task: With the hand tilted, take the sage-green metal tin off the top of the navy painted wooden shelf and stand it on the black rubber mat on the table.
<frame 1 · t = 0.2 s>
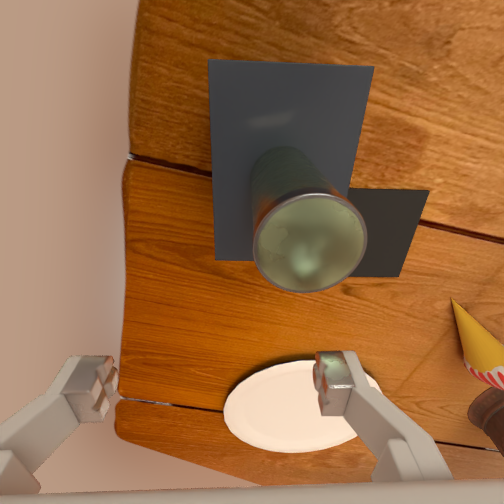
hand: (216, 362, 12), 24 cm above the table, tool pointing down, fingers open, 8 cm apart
plate: (301, 404, 54), on the table
mat: (364, 235, 36), on the table
ice cream cone: (471, 332, 45), on the table
tin: (282, 179, 20), point 11 cm above the table, touching shelf
shelf: (269, 148, 30), on the table
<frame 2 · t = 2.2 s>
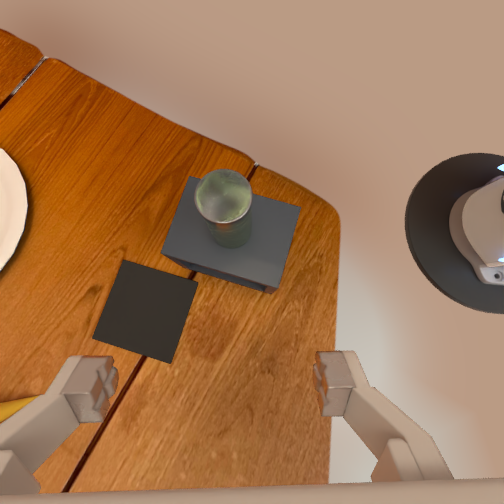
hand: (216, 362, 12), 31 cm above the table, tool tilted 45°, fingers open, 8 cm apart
mat: (146, 309, 42), on the table
tin: (231, 229, 33), point 11 cm above the table, touching shelf
shelf: (236, 249, 44), on the table
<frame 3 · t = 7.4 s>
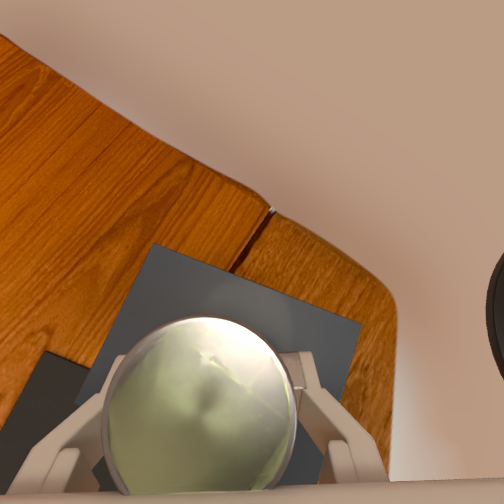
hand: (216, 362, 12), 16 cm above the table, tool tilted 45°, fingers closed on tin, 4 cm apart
mat: (71, 444, 25), on the table
tin: (224, 361, 17), point 11 cm above the table, touching gripper, shelf
shelf: (231, 347, 27), on the table
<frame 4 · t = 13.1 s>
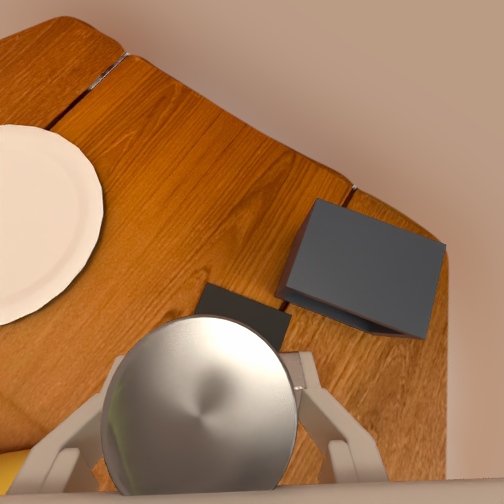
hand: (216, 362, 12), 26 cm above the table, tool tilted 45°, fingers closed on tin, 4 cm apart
plate: (2, 222, 40), on the table
mat: (232, 342, 37), on the table
ice cream cone: (24, 470, 33), on the table
tin: (225, 361, 17), point 21 cm above the table, touching gripper
shelf: (334, 280, 39), on the table
when the fingers open (6 cm above the table, at t = 18.8 s): tin stays where it is, resting on mat.
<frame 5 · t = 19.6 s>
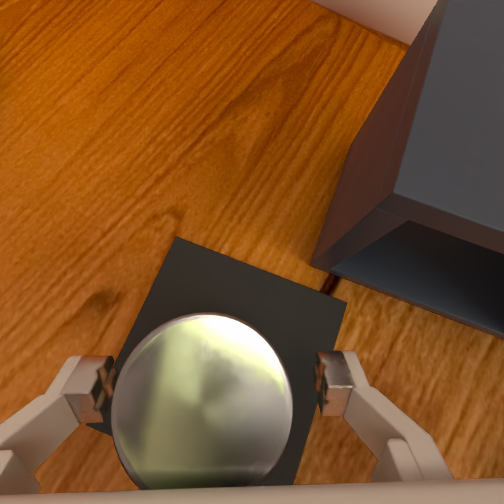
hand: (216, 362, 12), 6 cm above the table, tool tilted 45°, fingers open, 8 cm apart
mat: (225, 359, 18), on the table
tin: (225, 359, 17), resting on mat
shelf: (426, 236, 20), on the table
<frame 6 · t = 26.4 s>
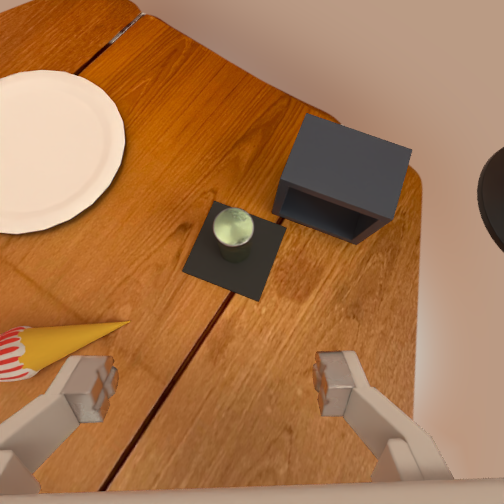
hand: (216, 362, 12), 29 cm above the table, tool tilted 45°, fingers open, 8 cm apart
plate: (37, 151, 46), on the table
mat: (235, 249, 43), on the table
ice cream cone: (62, 346, 39), on the table
tin: (235, 248, 43), resting on mat
shelf: (323, 201, 45), on the table
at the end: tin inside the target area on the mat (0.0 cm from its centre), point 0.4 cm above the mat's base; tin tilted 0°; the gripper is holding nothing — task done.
